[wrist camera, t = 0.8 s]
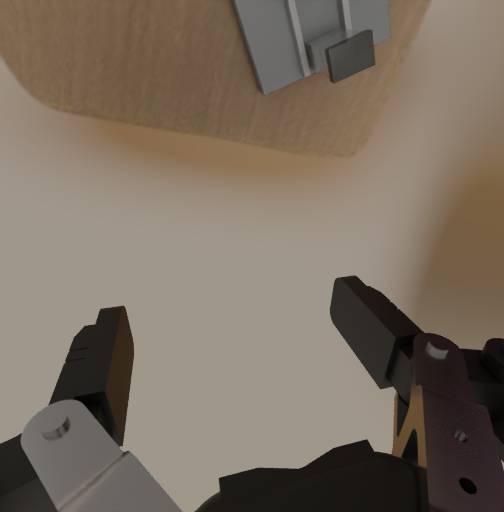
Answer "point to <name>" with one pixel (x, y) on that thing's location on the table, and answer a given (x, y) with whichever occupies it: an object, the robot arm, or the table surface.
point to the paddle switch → (341, 53)
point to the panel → (300, 32)
